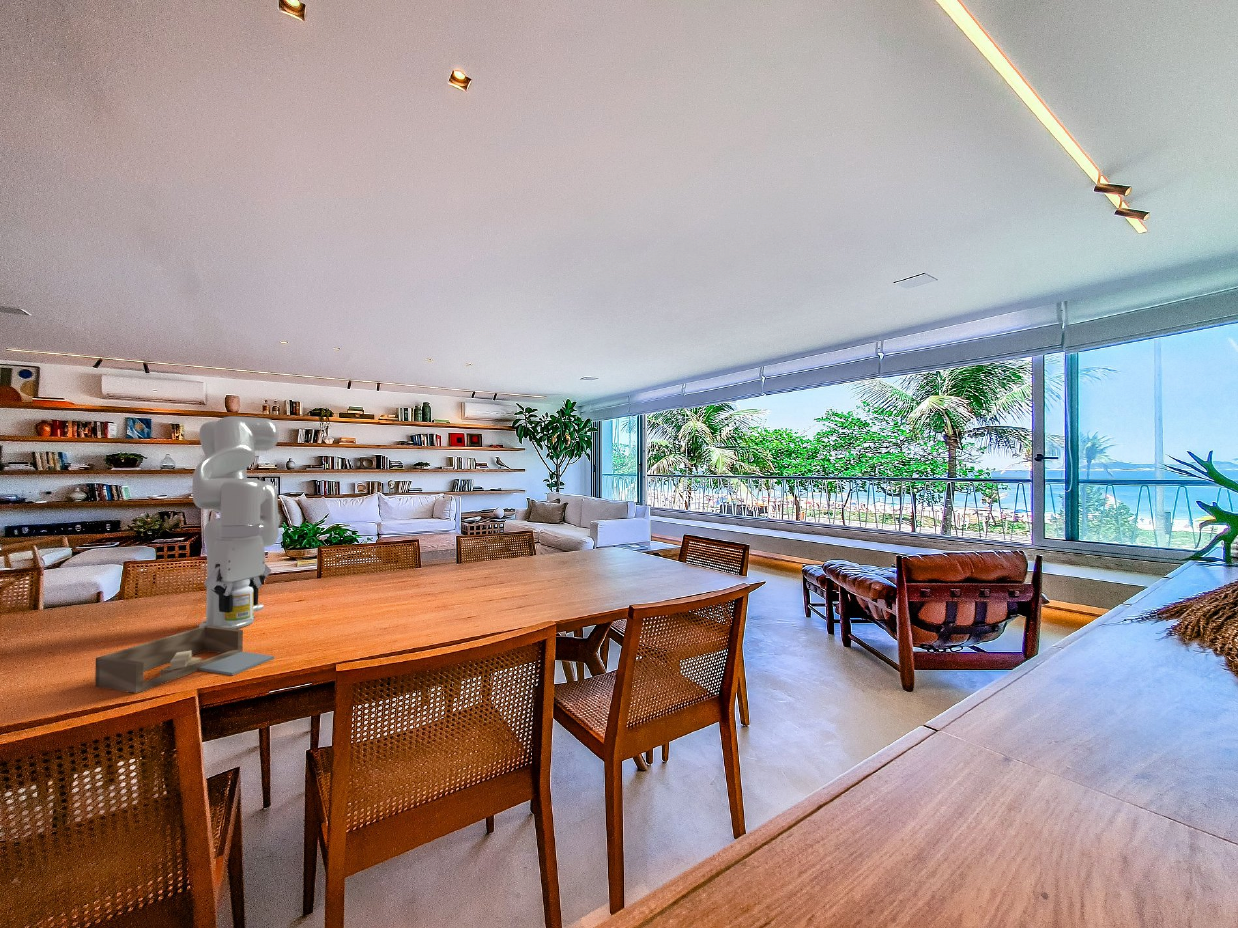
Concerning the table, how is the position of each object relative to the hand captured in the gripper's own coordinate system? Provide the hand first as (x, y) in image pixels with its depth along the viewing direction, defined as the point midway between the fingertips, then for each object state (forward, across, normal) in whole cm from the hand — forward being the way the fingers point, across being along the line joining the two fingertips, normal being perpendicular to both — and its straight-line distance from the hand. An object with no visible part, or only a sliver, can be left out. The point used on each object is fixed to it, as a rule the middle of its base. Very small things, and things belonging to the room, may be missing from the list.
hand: (238, 607), depth 115 cm
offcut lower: (+14, +6, -9) cm, 18 cm away
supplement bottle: (+3, 0, 0) cm, 3 cm away
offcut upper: (+12, +6, -9) cm, 16 cm away
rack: (+13, +6, -11) cm, 18 cm away
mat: (+14, 0, 0) cm, 14 cm away
